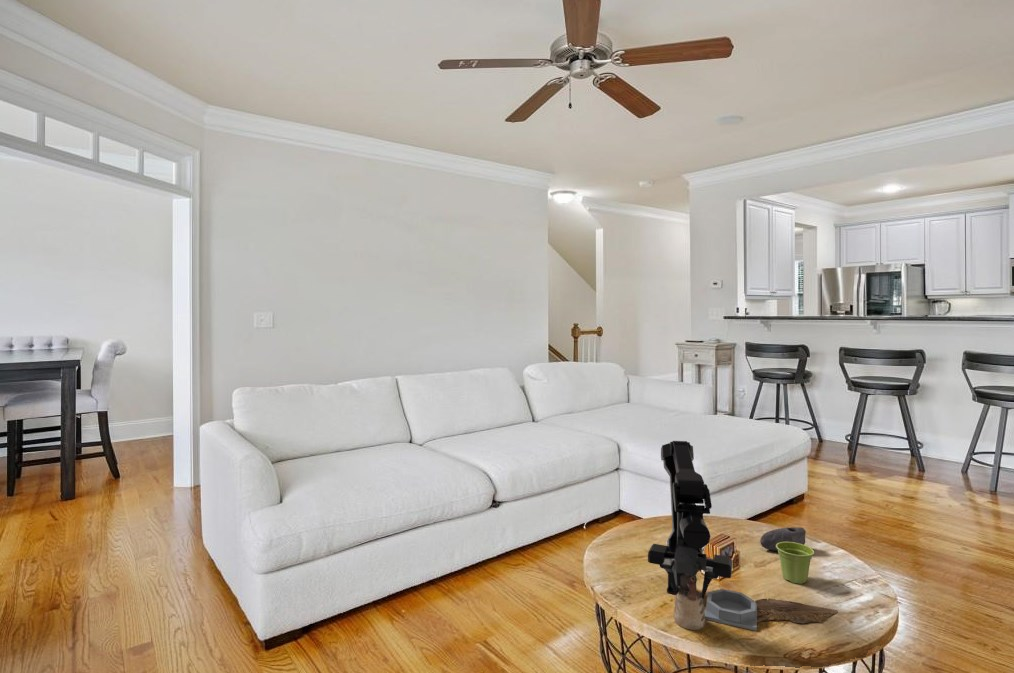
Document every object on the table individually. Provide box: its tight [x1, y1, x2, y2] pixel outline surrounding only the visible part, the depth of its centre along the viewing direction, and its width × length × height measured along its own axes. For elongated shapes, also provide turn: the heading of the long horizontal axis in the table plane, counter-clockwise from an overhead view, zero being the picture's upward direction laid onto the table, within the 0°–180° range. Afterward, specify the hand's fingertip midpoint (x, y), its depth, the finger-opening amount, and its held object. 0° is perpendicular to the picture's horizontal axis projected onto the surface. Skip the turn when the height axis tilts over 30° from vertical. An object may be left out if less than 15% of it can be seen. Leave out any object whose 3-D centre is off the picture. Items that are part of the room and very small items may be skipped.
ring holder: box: [704, 588, 758, 632], centre depth 131 cm, size 12×12×3 cm
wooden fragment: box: [754, 597, 838, 625], centre depth 131 cm, size 26×11×1 cm, turn 85°
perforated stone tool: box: [759, 526, 807, 552], centre depth 167 cm, size 15×5×7 cm, turn 91°
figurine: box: [673, 573, 706, 631], centre depth 127 cm, size 7×7×12 cm
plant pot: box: [776, 542, 815, 585], centre depth 148 cm, size 9×9×9 cm
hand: (689, 595), depth 127 cm, fingers closed on figurine, 6 cm apart
